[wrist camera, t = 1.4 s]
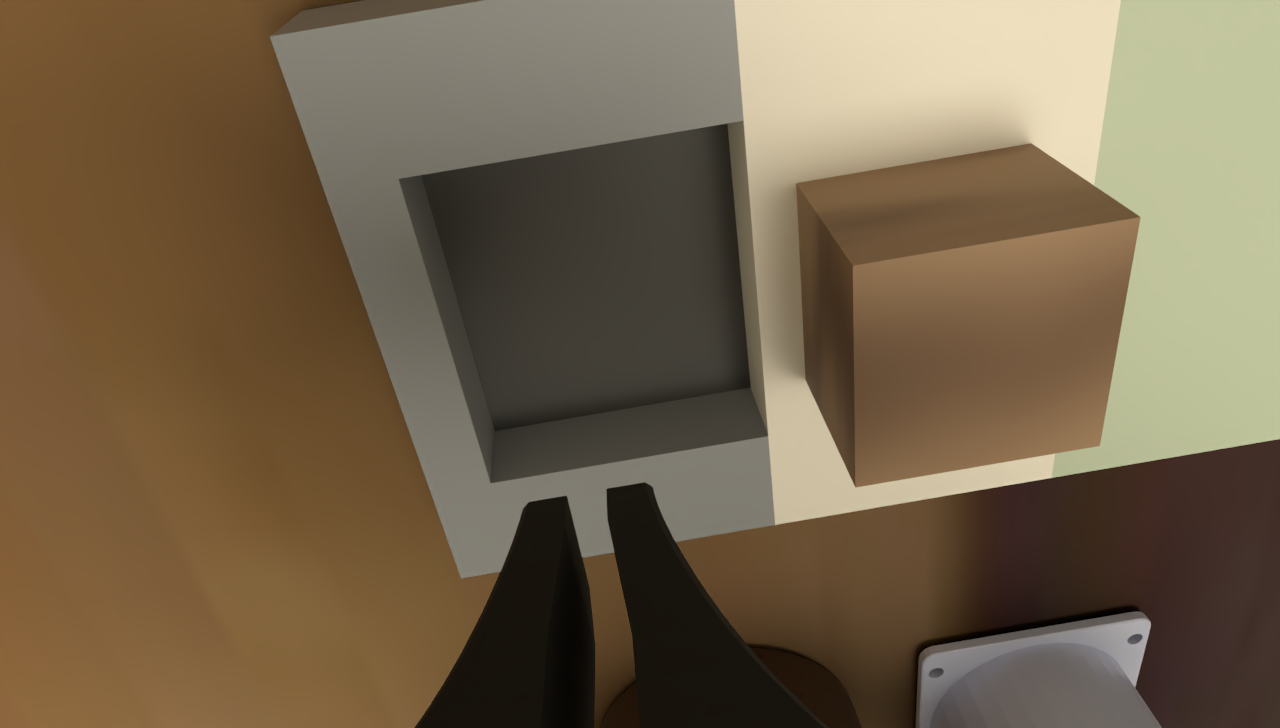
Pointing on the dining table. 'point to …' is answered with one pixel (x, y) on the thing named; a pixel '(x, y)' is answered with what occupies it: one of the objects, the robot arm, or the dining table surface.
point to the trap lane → (758, 227)
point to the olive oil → (791, 670)
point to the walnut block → (961, 310)
